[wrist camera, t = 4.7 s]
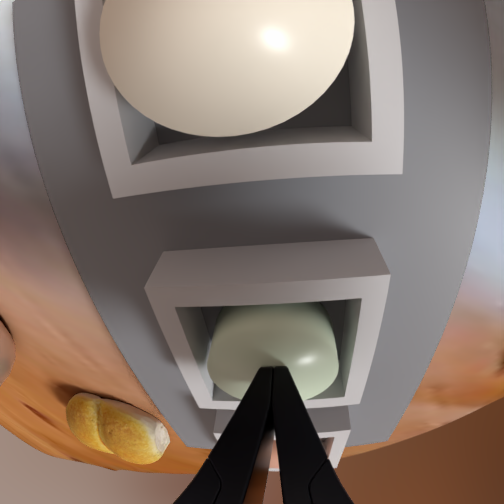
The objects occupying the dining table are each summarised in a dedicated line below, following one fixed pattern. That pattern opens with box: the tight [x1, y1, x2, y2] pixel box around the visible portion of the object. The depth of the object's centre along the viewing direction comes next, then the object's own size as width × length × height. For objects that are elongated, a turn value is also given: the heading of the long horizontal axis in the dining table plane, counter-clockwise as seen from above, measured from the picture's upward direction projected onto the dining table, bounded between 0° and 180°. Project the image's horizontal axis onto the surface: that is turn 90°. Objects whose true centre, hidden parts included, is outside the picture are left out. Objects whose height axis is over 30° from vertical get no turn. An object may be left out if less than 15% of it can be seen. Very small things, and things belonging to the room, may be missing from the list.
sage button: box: [207, 301, 339, 401], centre depth 10 cm, size 4×4×2 cm
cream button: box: [99, 0, 355, 137], centre depth 4 cm, size 4×4×2 cm
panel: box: [13, 0, 492, 471], centre depth 11 cm, size 14×26×4 cm, turn 7°
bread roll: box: [66, 393, 170, 464], centre depth 20 cm, size 8×9×4 cm
